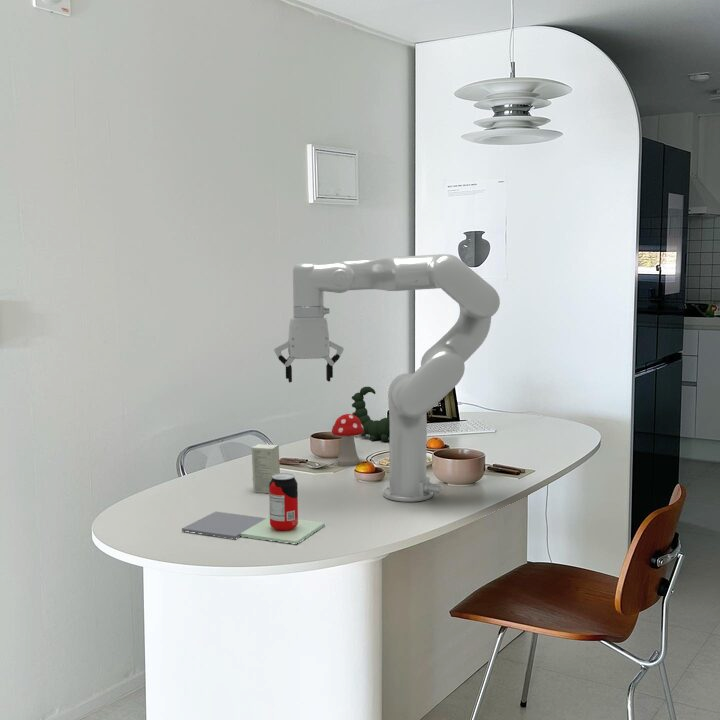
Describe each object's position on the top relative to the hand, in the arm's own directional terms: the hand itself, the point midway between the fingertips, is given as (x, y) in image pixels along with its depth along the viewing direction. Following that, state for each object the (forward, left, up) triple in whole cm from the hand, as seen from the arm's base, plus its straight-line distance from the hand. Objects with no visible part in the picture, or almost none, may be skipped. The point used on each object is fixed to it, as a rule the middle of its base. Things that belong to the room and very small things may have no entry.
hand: (309, 381), depth 219 cm
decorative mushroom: (+6, -37, -31) cm, 48 cm away
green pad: (-6, +26, -30) cm, 40 cm away
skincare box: (+14, -2, -31) cm, 34 cm away
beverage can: (-6, +26, -30) cm, 40 cm away
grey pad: (+8, +28, -30) cm, 42 cm away
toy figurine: (+7, -71, -31) cm, 78 cm away
